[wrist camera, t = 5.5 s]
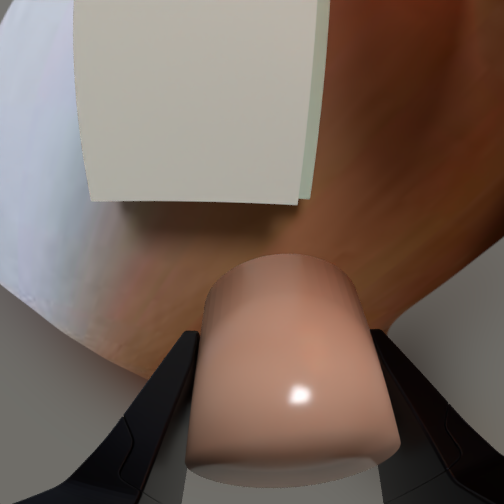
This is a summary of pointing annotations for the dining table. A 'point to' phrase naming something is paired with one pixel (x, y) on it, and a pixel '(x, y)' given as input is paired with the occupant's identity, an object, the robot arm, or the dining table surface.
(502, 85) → the dining table surface
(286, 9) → the cream slab
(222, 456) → the pale pink cylinder
